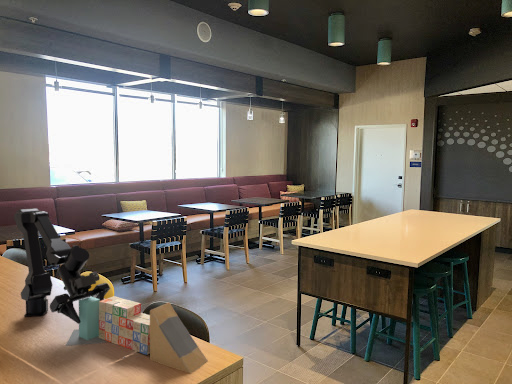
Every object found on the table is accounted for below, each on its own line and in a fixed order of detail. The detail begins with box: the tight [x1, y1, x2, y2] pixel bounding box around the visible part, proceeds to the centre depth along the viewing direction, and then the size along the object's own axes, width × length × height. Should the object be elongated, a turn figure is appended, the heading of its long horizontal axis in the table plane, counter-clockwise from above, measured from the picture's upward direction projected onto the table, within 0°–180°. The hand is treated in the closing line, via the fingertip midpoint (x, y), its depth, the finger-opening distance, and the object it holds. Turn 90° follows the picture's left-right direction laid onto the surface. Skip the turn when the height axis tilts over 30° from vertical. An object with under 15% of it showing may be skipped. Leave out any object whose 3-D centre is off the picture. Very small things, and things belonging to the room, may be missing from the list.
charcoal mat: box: [65, 328, 108, 347], centre depth 129 cm, size 12×12×1 cm
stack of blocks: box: [99, 295, 150, 356], centre depth 125 cm, size 21×6×12 cm, turn 61°
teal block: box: [78, 296, 100, 340], centre depth 128 cm, size 5×5×12 cm
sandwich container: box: [149, 302, 209, 374], centre depth 115 cm, size 9×15×15 cm, turn 61°
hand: (92, 318), depth 128 cm, fingers open, 8 cm apart
